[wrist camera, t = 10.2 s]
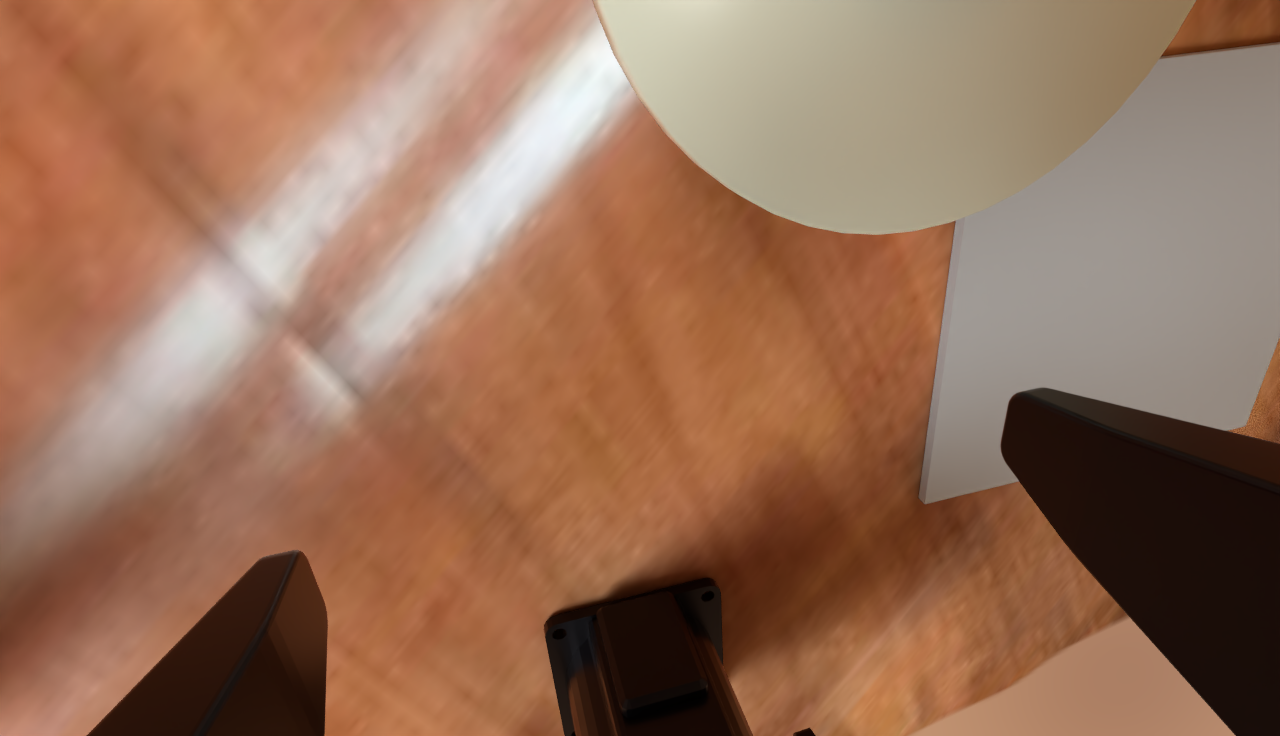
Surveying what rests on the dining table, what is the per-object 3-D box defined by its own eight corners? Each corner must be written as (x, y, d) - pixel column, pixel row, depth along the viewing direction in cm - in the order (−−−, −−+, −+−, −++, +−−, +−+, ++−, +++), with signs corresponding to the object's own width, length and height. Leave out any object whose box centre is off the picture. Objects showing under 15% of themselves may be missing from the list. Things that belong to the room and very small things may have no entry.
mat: (1236, 421, 30) (1245, 426, 30) (918, 497, 27) (924, 504, 27) (1383, 29, 23) (1397, 29, 23) (975, 79, 20) (984, 81, 20)
